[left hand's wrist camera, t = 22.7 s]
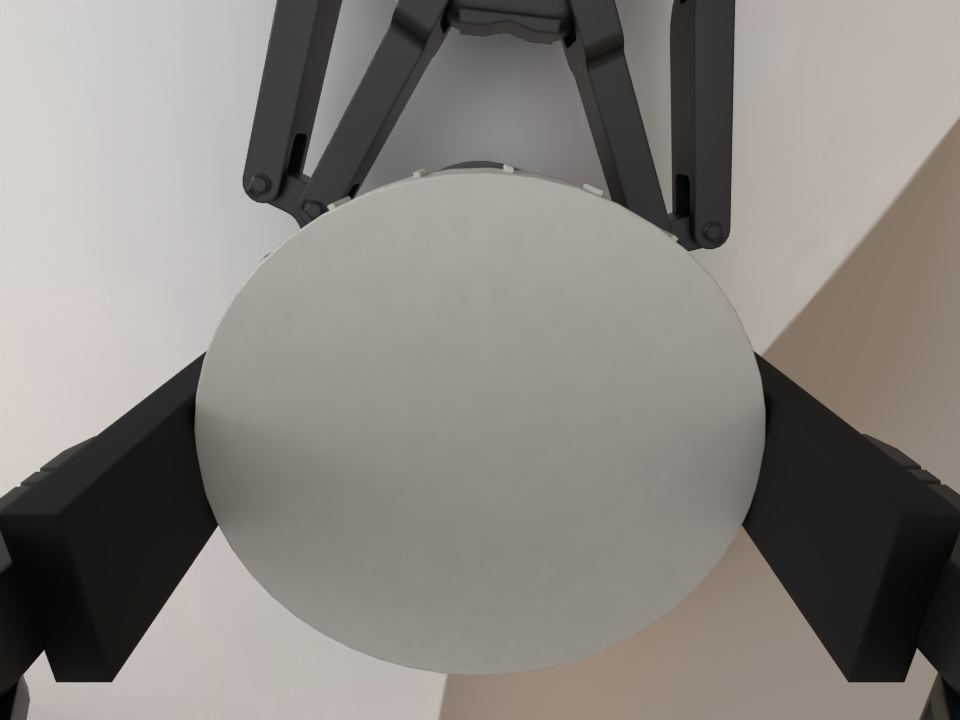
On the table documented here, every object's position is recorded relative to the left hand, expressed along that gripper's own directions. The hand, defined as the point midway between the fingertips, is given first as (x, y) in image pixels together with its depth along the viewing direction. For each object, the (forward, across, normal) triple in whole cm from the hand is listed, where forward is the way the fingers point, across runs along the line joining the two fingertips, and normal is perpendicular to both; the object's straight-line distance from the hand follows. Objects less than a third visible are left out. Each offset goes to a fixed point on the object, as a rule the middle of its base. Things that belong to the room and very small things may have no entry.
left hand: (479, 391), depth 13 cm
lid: (-3, 0, 0) cm, 3 cm away
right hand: (+9, 0, -4) cm, 10 cm away
